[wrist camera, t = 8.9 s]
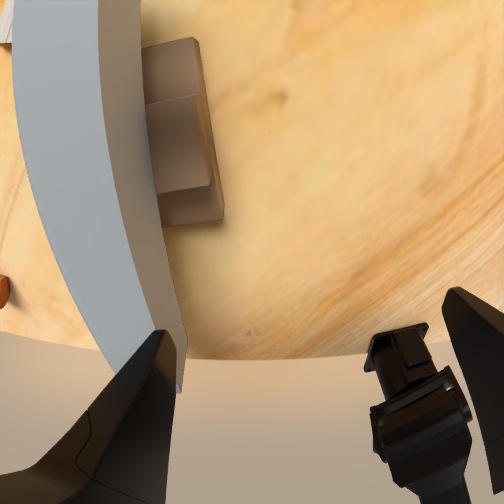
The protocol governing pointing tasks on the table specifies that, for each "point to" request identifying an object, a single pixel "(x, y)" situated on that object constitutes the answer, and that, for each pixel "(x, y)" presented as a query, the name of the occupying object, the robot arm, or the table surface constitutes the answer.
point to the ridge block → (180, 134)
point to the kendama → (4, 290)
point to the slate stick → (95, 167)
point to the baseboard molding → (6, 22)
